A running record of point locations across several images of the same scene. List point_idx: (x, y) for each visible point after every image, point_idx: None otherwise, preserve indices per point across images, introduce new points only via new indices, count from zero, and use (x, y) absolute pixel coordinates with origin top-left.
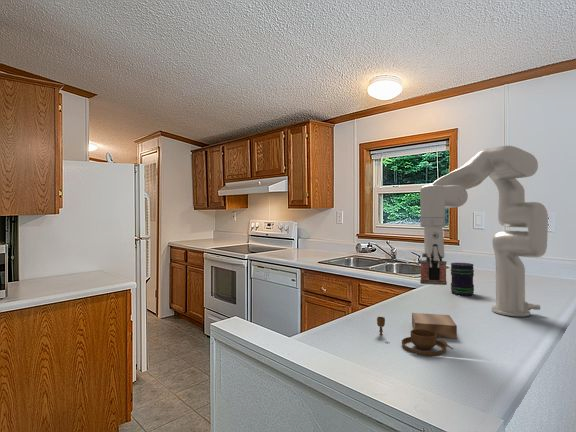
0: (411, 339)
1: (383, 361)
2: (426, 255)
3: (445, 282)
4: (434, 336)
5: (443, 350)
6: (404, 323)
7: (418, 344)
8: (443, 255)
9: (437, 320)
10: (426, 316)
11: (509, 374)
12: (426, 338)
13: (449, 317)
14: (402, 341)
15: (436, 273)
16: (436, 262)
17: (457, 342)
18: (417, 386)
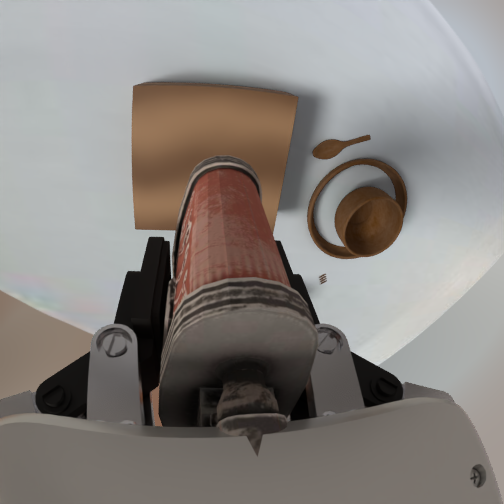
0: (364, 246)
1: (404, 284)
2: None
3: (258, 179)
4: (399, 206)
5: (400, 177)
6: (140, 229)
7: (381, 231)
8: (468, 420)
9: (231, 150)
10: (177, 182)
11: (476, 92)
12: (399, 225)
13: (175, 91)
14: (343, 256)
15: (307, 301)
16: (407, 390)
17: (318, 102)
18: (472, 246)
